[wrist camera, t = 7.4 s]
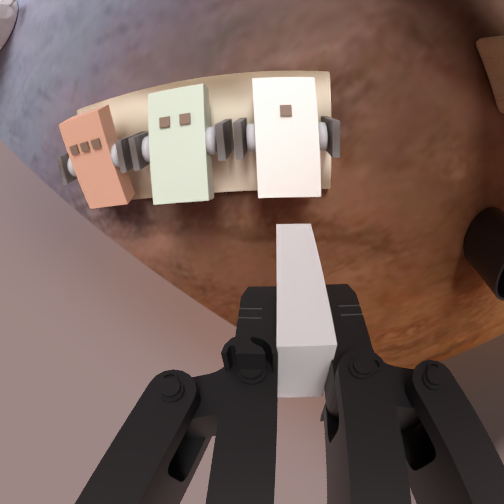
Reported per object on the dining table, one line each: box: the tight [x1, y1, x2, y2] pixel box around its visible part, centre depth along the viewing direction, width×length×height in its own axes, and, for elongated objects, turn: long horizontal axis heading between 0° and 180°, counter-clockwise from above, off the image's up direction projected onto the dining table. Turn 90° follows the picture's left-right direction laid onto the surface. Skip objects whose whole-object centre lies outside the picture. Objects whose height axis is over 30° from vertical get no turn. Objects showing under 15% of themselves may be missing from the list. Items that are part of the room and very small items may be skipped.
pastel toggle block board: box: [57, 71, 340, 200], centre depth 23 cm, size 12×27×6 cm, turn 94°
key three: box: [59, 104, 135, 209], centre depth 23 cm, size 10×6×2 cm, turn 4°
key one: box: [246, 77, 328, 198], centre depth 21 cm, size 10×6×2 cm, turn 4°
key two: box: [142, 84, 218, 205], centre depth 22 cm, size 10×6×2 cm, turn 4°
